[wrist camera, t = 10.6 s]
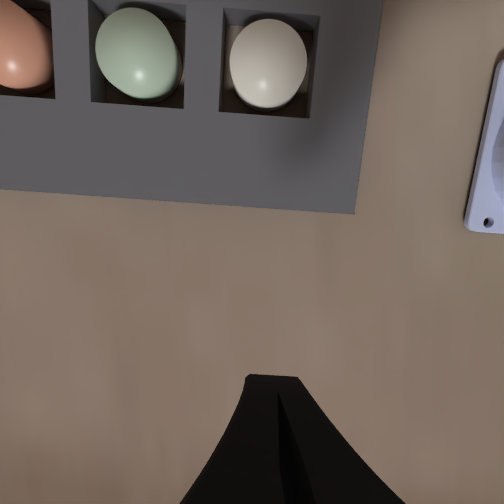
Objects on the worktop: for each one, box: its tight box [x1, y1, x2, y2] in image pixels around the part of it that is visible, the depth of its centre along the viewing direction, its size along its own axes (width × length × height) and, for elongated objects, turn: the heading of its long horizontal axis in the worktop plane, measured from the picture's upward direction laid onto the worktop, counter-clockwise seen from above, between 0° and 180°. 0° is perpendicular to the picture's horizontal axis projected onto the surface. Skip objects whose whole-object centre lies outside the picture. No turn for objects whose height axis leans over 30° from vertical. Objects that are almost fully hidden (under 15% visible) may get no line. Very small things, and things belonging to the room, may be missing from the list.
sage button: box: [95, 8, 182, 103], centre depth 14 cm, size 3×3×2 cm
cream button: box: [230, 19, 307, 112], centre depth 14 cm, size 3×3×2 cm
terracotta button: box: [0, 0, 55, 94], centre depth 14 cm, size 3×3×2 cm
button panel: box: [0, 0, 383, 214], centre depth 15 cm, size 20×12×2 cm, turn 86°
